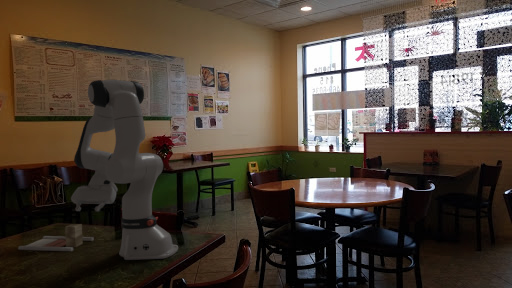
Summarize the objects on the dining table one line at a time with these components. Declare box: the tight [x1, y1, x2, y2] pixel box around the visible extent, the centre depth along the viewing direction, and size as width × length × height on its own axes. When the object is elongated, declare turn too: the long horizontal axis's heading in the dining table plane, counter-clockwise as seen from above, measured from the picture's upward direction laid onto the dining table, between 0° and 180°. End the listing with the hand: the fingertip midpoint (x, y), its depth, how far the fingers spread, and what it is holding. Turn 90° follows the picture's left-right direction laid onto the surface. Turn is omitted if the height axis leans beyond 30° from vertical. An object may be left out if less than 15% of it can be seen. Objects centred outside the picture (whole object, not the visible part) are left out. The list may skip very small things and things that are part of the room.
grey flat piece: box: [17, 235, 95, 252], centre depth 154 cm, size 24×15×1 cm, turn 82°
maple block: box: [64, 223, 84, 248], centre depth 153 cm, size 4×4×8 cm
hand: (87, 210), depth 162 cm, fingers open, 8 cm apart
